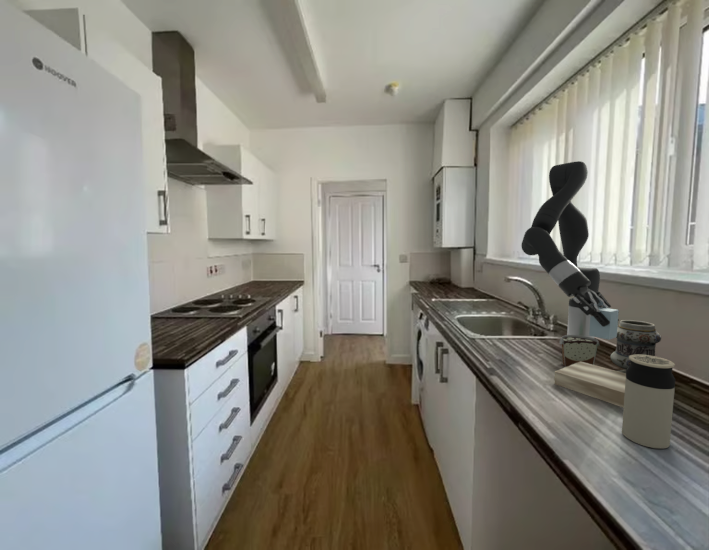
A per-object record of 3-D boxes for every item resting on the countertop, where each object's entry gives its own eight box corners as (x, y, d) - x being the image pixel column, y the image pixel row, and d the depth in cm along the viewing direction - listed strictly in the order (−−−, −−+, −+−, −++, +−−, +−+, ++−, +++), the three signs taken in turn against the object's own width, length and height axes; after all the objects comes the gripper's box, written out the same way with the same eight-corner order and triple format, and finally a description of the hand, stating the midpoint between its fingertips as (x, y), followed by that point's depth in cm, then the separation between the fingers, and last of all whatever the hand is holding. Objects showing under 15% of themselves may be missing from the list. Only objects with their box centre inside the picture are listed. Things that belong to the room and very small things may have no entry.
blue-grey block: (597, 333, 101) (598, 307, 100) (616, 337, 97) (618, 309, 96) (589, 335, 99) (590, 308, 98) (609, 339, 94) (610, 311, 94)
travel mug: (674, 454, 68) (681, 369, 67) (624, 442, 73) (630, 362, 71) (664, 435, 75) (671, 357, 73) (619, 425, 79) (624, 351, 78)
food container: (587, 361, 121) (589, 334, 120) (597, 368, 115) (599, 339, 114) (551, 360, 123) (553, 334, 122) (560, 367, 117) (561, 339, 116)
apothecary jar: (650, 373, 110) (654, 320, 108) (665, 388, 99) (670, 328, 97) (605, 368, 115) (608, 316, 113) (615, 381, 104) (619, 324, 102)
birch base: (579, 373, 111) (580, 361, 111) (648, 393, 96) (650, 379, 96) (554, 384, 103) (554, 371, 102) (625, 408, 87) (626, 393, 87)
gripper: (566, 271, 99) (612, 319, 90) (589, 269, 106) (633, 313, 97) (547, 287, 104) (588, 334, 95) (570, 284, 111) (611, 327, 102)
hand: (611, 323), depth 96 cm, fingers closed on blue-grey block, 5 cm apart
